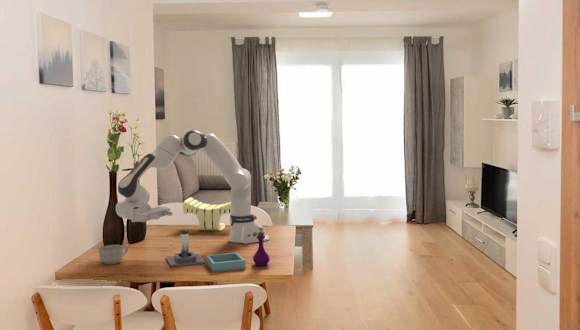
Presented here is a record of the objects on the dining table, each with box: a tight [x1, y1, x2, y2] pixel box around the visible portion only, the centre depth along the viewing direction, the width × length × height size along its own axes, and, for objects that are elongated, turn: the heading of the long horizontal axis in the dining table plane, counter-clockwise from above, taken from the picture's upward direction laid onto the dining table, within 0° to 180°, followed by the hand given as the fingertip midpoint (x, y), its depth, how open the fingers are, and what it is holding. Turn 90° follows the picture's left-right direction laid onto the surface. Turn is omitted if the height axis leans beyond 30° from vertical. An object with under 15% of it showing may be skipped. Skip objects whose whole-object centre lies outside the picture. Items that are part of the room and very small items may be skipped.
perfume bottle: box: [252, 226, 271, 267], centre depth 273 cm, size 8×8×18 cm
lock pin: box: [179, 228, 190, 257], centre depth 282 cm, size 4×4×14 cm
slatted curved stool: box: [182, 196, 231, 232], centre depth 354 cm, size 30×16×18 cm, turn 83°
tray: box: [205, 252, 247, 273], centre depth 273 cm, size 15×15×4 cm
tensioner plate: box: [165, 251, 206, 268], centre depth 283 cm, size 16×16×3 cm
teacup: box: [98, 244, 129, 265], centre depth 281 cm, size 14×11×8 cm
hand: (165, 215), depth 286 cm, fingers open, 8 cm apart
